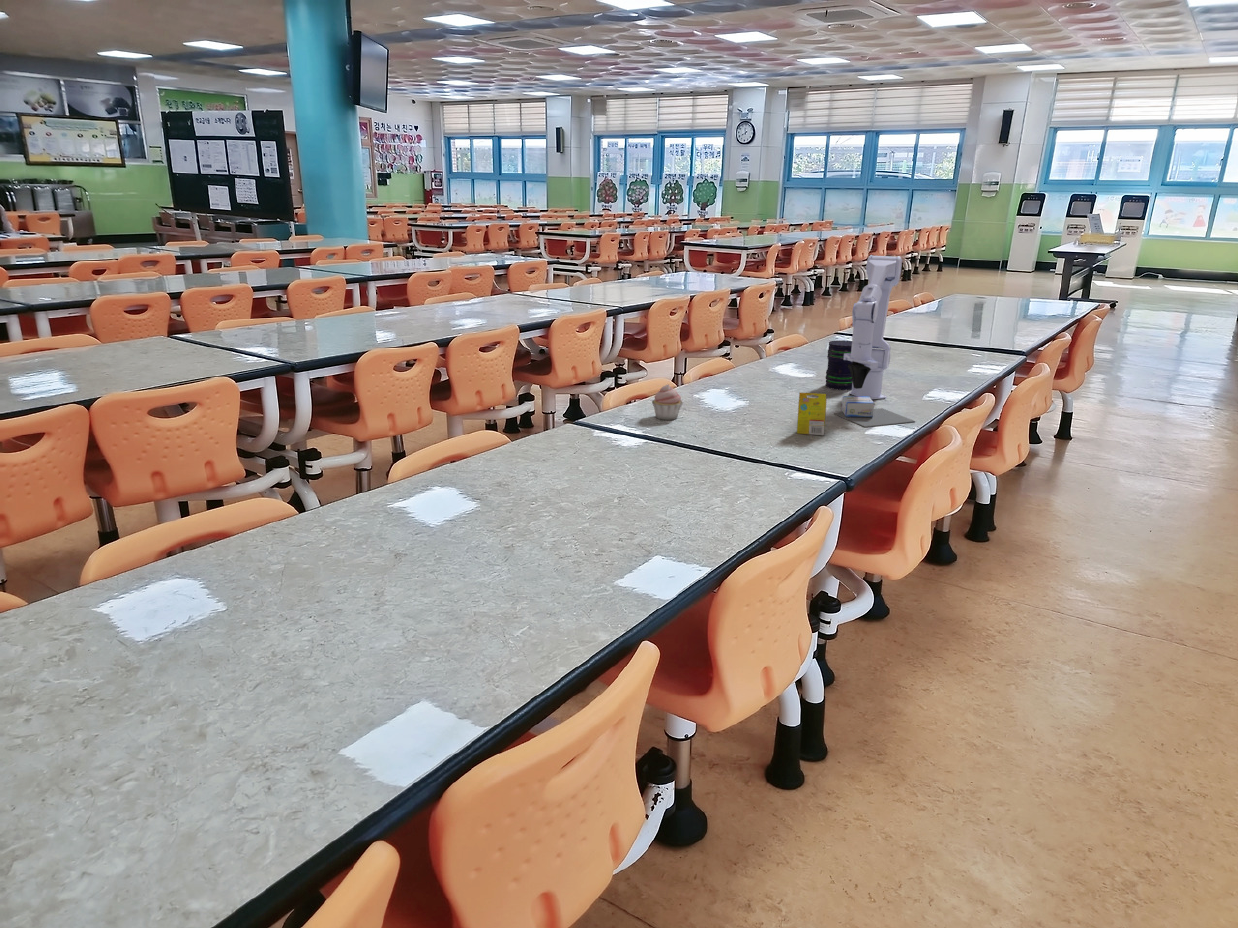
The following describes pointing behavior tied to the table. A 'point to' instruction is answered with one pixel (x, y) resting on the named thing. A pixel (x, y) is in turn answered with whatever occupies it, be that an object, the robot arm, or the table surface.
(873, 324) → the robot arm
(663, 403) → the cupcake
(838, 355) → the storage jar
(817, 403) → the crayon box
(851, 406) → the medicine box
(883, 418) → the mat
